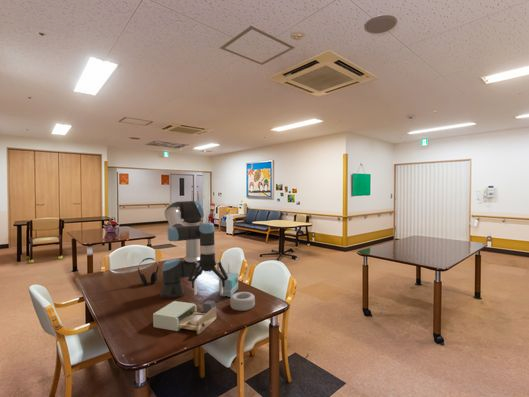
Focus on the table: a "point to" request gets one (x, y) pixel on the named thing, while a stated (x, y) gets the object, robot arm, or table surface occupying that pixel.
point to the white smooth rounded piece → (195, 319)
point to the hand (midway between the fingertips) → (208, 293)
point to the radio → (229, 284)
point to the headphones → (153, 276)
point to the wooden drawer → (199, 321)
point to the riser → (208, 306)
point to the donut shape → (242, 301)
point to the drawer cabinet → (172, 315)
